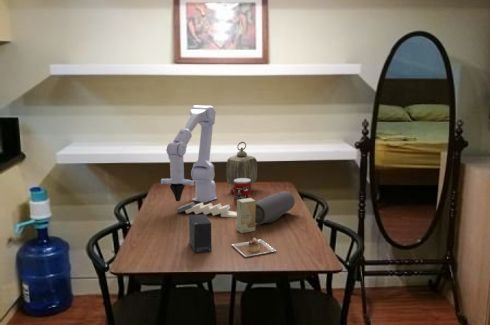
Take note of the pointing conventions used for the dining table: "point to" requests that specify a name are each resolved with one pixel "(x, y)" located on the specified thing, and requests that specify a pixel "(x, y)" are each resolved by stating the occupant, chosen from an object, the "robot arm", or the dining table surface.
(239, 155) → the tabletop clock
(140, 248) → the dining table surface
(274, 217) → the bluetooth speaker
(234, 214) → the domino
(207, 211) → the domino
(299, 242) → the dining table surface
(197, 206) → the domino
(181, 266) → the dining table surface
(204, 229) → the small box
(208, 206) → the domino
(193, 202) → the domino
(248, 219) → the skincare box
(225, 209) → the domino
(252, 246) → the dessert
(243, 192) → the canned food
